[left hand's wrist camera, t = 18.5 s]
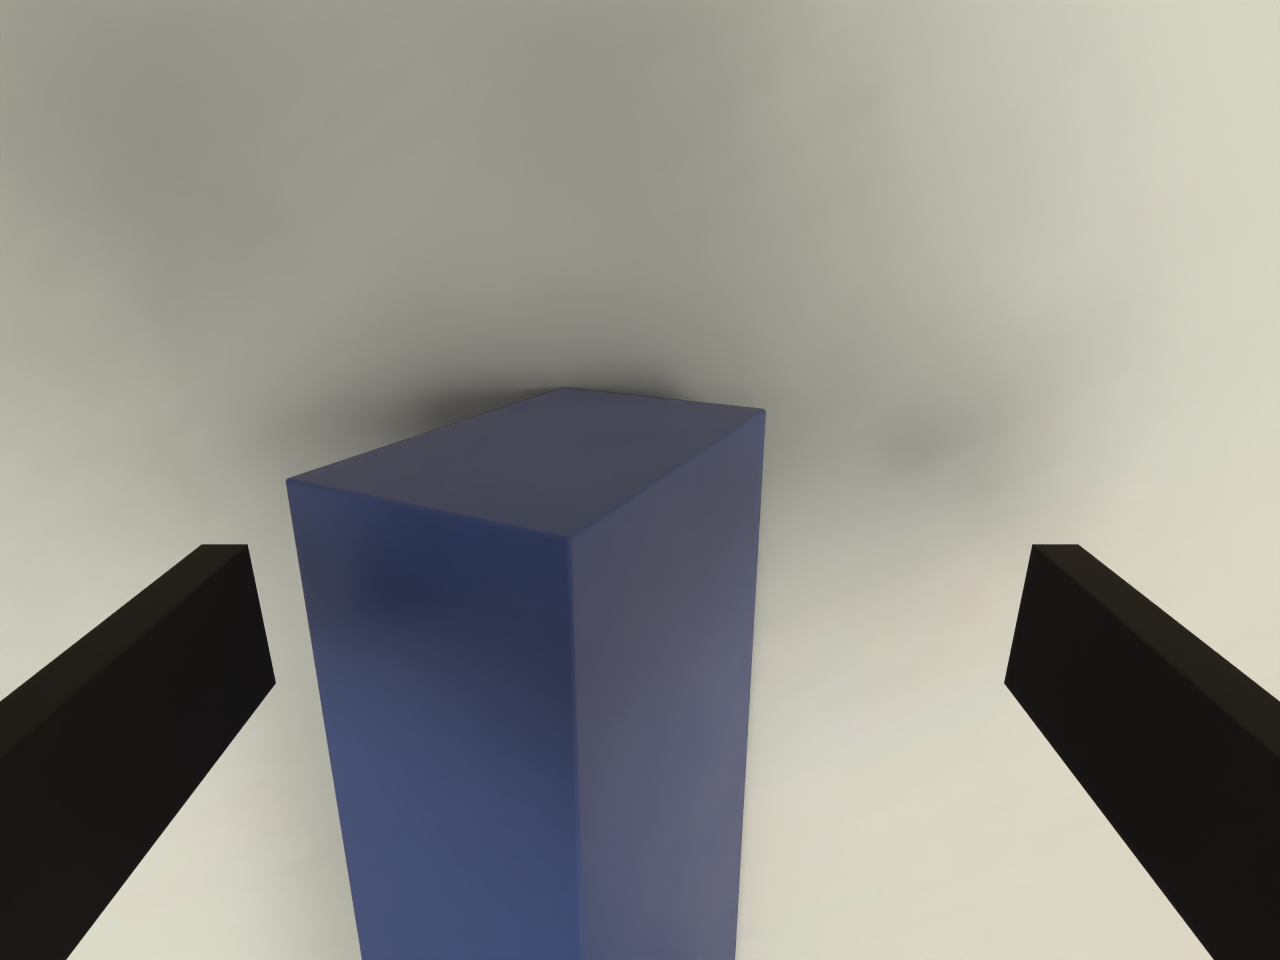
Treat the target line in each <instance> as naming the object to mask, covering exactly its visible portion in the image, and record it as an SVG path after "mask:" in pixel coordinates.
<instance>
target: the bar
mask: <svg viewBox="0 0 1280 960" xmlns="http://www.w3.org/2000/svg"><path fill="white" fill-rule="evenodd" d="M765 415H766V412H765V410H764V409H759V408H750V407H741V406H731V405H722V404H713V403H703V402H694V401H685V400H676V399H666V398H657V397H648V396H639V395H629V394H620V393H611V392H602V391H592V390H583V389H574V388H565V387H563V388H560V389H557V390H554V391H551V392H548V393H545V394H542V395H539V396H536V397H533V398H530V399H527V400H524V401H521V402H518V403H515V404H512V405H509V406H506V407H503V408H500V409H497V410H494V411H491V412H487V413H484V414H481V415H478V416H475V417H472V418H469V419H466V420H463V421H460V422H457V423H454V424H451V425H448V426H445V427H442V428H439V429H436V430H433V431H430V432H427V433H424V434H421V435H418V436H415V437H412V438H409V439H406V440H403V441H400V442H397V443H394V444H391V445H387V446H384V447H381V448H378V449H375V450H372V451H369V452H366V453H363V454H360V455H357V456H354V457H351V458H348V459H345V460H342V461H339V462H336V463H333V464H330V465H327V466H324V467H321V468H318V469H315V470H312V471H309V472H306V473H303V474H300V475H297V476H294V477H291V478H288V479H287V480H286V486H287V492H288V499H289V505H290V511H291V517H292V524H293V530H294V536H295V542H296V549H297V555H298V561H299V568H300V574H301V580H302V586H303V593H304V599H305V605H306V611H307V618H308V624H309V630H310V637H311V643H312V649H313V655H314V662H315V668H316V674H317V680H318V687H319V693H320V699H321V705H322V712H323V718H324V724H325V731H326V737H327V743H328V749H329V756H330V762H331V768H332V774H333V781H334V787H335V793H336V800H337V806H338V812H339V818H340V825H341V831H342V837H343V843H344V850H345V856H346V862H347V868H348V875H349V881H350V887H351V894H352V900H353V906H354V912H355V919H356V925H357V931H358V937H359V944H360V950H361V956H362V960H735V949H736V931H737V914H738V896H739V878H740V860H741V842H742V824H743V807H744V789H745V771H746V753H747V735H748V718H749V700H750V682H751V664H752V646H753V628H754V611H755V593H756V575H757V557H758V539H759V522H760V504H761V486H762V468H763V450H764V433H765Z"/></svg>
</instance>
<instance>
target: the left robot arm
mask: <svg viewBox="0 0 1280 960" xmlns="http://www.w3.org/2000/svg"><path fill="white" fill-rule="evenodd" d="M275 684H276V681H275V676H274V672H273V667H272V662H271V657H270V652H269V647H268V642H267V637H266V632H265V627H264V623H263V618H262V613H261V608H260V603H259V598H258V593H257V588H256V583H255V578H254V574H253V569H252V564H251V559H250V554H249V549H248V544H202V545H200V546H199V547H198V548H197V549H195V550H194V551H193V552H191V553H190V554H189V555H188V556H186V557H185V558H184V559H182V560H181V561H180V562H179V563H177V564H176V565H175V566H173V567H172V568H171V569H170V570H168V571H167V572H166V573H165V574H163V575H162V576H161V577H159V578H158V579H157V580H156V581H154V582H153V583H152V584H150V585H149V586H148V587H147V588H145V589H144V590H143V591H141V592H140V593H139V594H138V595H136V596H135V597H134V598H132V599H131V600H130V601H129V602H127V603H126V604H125V605H123V606H122V607H121V608H120V609H118V610H117V611H116V612H114V613H113V614H112V615H111V616H109V617H108V618H107V619H105V620H104V621H103V622H102V623H100V624H99V625H98V626H97V627H95V628H94V629H93V630H91V631H90V632H89V633H88V634H86V635H85V636H84V637H82V638H81V639H80V640H79V641H77V642H76V643H75V644H73V645H72V646H71V647H70V648H68V649H67V650H66V651H64V652H63V653H62V654H61V655H59V656H58V657H57V658H55V659H54V660H53V661H52V662H50V663H49V664H48V665H46V666H45V667H44V668H43V669H41V670H40V671H39V672H37V673H36V674H35V675H34V676H32V677H31V678H30V679H29V680H27V681H26V682H25V683H23V684H22V685H21V686H20V687H18V688H17V689H16V690H14V691H13V692H12V693H11V694H9V695H8V696H7V697H5V698H4V699H3V700H2V701H0V960H66V959H67V958H68V957H69V955H70V954H71V953H72V951H73V950H74V949H75V947H76V946H77V945H78V943H79V942H80V941H81V939H82V938H83V937H84V936H85V934H86V933H87V932H88V930H89V929H90V928H91V926H92V925H93V924H94V922H95V921H96V920H97V918H98V917H99V916H100V914H101V913H102V912H103V910H104V909H105V908H106V907H107V905H108V904H109V903H110V901H111V900H112V899H113V897H114V896H115V895H116V893H117V892H118V891H119V889H120V888H121V887H122V885H123V884H124V883H125V881H126V880H127V879H128V878H129V876H130V875H131V874H132V872H133V871H134V870H135V868H136V867H137V866H138V864H139V863H140V862H141V860H142V859H143V858H144V856H145V855H146V854H147V852H148V851H149V850H150V848H151V847H152V846H153V845H154V843H155V842H156V841H157V839H158V838H159V837H160V835H161V834H162V833H163V831H164V830H165V829H166V827H167V826H168V825H169V823H170V822H171V821H172V819H173V818H174V817H175V816H176V814H177V813H178V812H179V810H180V809H181V808H182V806H183V805H184V804H185V802H186V801H187V800H188V798H189V797H190V796H191V794H192V793H193V792H194V790H195V789H196V788H197V787H198V785H199V784H200V783H201V781H202V780H203V779H204V777H205V776H206V775H207V773H208V772H209V771H210V769H211V768H212V767H213V765H214V764H215V763H216V761H217V760H218V759H219V757H220V756H221V755H222V754H223V752H224V751H225V750H226V748H227V747H228V746H229V744H230V743H231V742H232V740H233V739H234V738H235V736H236V735H237V734H238V732H239V731H240V730H241V728H242V727H243V726H244V725H245V723H246V722H247V721H248V719H249V718H250V717H251V715H252V714H253V713H254V711H255V710H256V709H257V707H258V706H259V705H260V703H261V702H262V701H263V699H264V698H265V697H266V695H267V694H268V693H269V692H270V690H271V689H272V688H273V686H274V685H275ZM1004 684H1005V685H1006V686H1007V688H1008V689H1009V690H1010V692H1011V693H1012V694H1013V695H1014V697H1015V698H1016V699H1017V701H1018V702H1019V703H1020V705H1021V706H1022V707H1023V709H1024V710H1025V711H1026V713H1027V714H1028V715H1029V717H1030V718H1031V719H1032V721H1033V722H1034V723H1035V725H1036V726H1037V727H1038V728H1039V730H1040V731H1041V732H1042V734H1043V735H1044V736H1045V738H1046V739H1047V740H1048V742H1049V743H1050V744H1051V746H1052V747H1053V748H1054V750H1055V751H1056V752H1057V754H1058V755H1059V756H1060V757H1061V759H1062V760H1063V761H1064V763H1065V764H1066V765H1067V767H1068V768H1069V769H1070V771H1071V772H1072V773H1073V775H1074V776H1075V777H1076V779H1077V780H1078V781H1079V783H1080V784H1081V785H1082V787H1083V788H1084V789H1085V790H1086V792H1087V793H1088V794H1089V796H1090V797H1091V798H1092V800H1093V801H1094V802H1095V804H1096V805H1097V806H1098V808H1099V809H1100V810H1101V812H1102V813H1103V814H1104V816H1105V817H1106V818H1107V819H1108V821H1109V822H1110V823H1111V825H1112V826H1113V827H1114V829H1115V830H1116V831H1117V833H1118V834H1119V835H1120V837H1121V838H1122V839H1123V841H1124V842H1125V843H1126V845H1127V846H1128V847H1129V848H1130V850H1131V851H1132V852H1133V854H1134V855H1135V856H1136V858H1137V859H1138V860H1139V862H1140V863H1141V864H1142V866H1143V867H1144V868H1145V870H1146V871H1147V872H1148V874H1149V875H1150V876H1151V878H1152V879H1153V880H1154V881H1155V883H1156V884H1157V885H1158V887H1159V888H1160V889H1161V891H1162V892H1163V893H1164V895H1165V896H1166V897H1167V899H1168V900H1169V901H1170V903H1171V904H1172V905H1173V907H1174V908H1175V909H1176V910H1177V912H1178V913H1179V914H1180V916H1181V917H1182V918H1183V920H1184V921H1185V922H1186V924H1187V925H1188V926H1189V928H1190V929H1191V930H1192V932H1193V933H1194V934H1195V936H1196V937H1197V938H1198V940H1199V941H1200V942H1201V943H1202V945H1203V946H1204V947H1205V949H1206V950H1207V951H1208V953H1209V954H1210V955H1211V957H1212V958H1213V959H1214V960H1280V701H1278V700H1277V699H1276V698H1275V697H1273V696H1272V695H1271V694H1269V693H1268V692H1267V691H1266V690H1264V689H1263V688H1262V687H1260V686H1259V685H1258V684H1257V683H1255V682H1254V681H1253V680H1251V679H1250V678H1249V677H1248V676H1246V675H1245V674H1244V673H1243V672H1241V671H1240V670H1239V669H1237V668H1236V667H1235V666H1234V665H1232V664H1231V663H1230V662H1228V661H1227V660H1226V659H1225V658H1223V657H1222V656H1221V655H1219V654H1218V653H1217V652H1216V651H1214V650H1213V649H1212V648H1210V647H1209V646H1208V645H1207V644H1205V643H1204V642H1203V641H1201V640H1200V639H1199V638H1198V637H1196V636H1195V635H1194V634H1192V633H1191V632H1190V631H1189V630H1187V629H1186V628H1185V627H1183V626H1182V625H1181V624H1180V623H1178V622H1177V621H1176V620H1175V619H1173V618H1172V617H1171V616H1169V615H1168V614H1167V613H1166V612H1164V611H1163V610H1162V609H1160V608H1159V607H1158V606H1157V605H1155V604H1154V603H1153V602H1151V601H1150V600H1149V599H1148V598H1146V597H1145V596H1144V595H1142V594H1141V593H1140V592H1139V591H1137V590H1136V589H1135V588H1133V587H1132V586H1131V585H1130V584H1128V583H1127V582H1126V581H1124V580H1123V579H1122V578H1121V577H1119V576H1118V575H1117V574H1115V573H1114V572H1113V571H1112V570H1110V569H1109V568H1108V567H1107V566H1105V565H1104V564H1103V563H1101V562H1100V561H1099V560H1098V559H1096V558H1095V557H1094V556H1092V555H1091V554H1090V553H1089V552H1087V551H1086V550H1085V549H1083V548H1082V547H1081V546H1080V545H1078V544H1032V549H1031V554H1030V559H1029V564H1028V569H1027V573H1026V578H1025V583H1024V588H1023V593H1022V598H1021V603H1020V608H1019V613H1018V618H1017V622H1016V627H1015V632H1014V637H1013V642H1012V647H1011V652H1010V657H1009V662H1008V667H1007V672H1006V676H1005V681H1004Z"/></svg>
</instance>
